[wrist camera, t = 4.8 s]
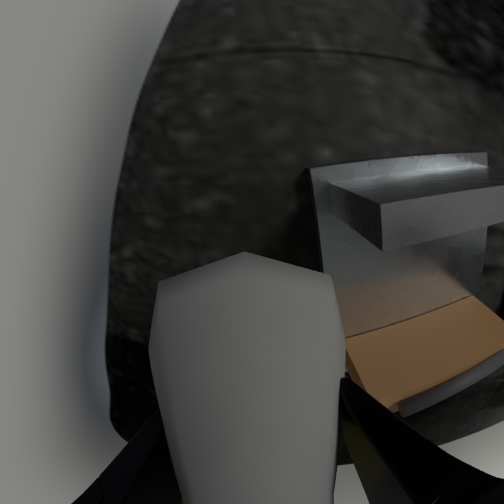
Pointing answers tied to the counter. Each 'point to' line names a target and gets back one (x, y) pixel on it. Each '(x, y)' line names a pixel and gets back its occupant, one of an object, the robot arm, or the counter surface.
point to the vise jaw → (427, 356)
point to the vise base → (397, 268)
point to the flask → (250, 381)
